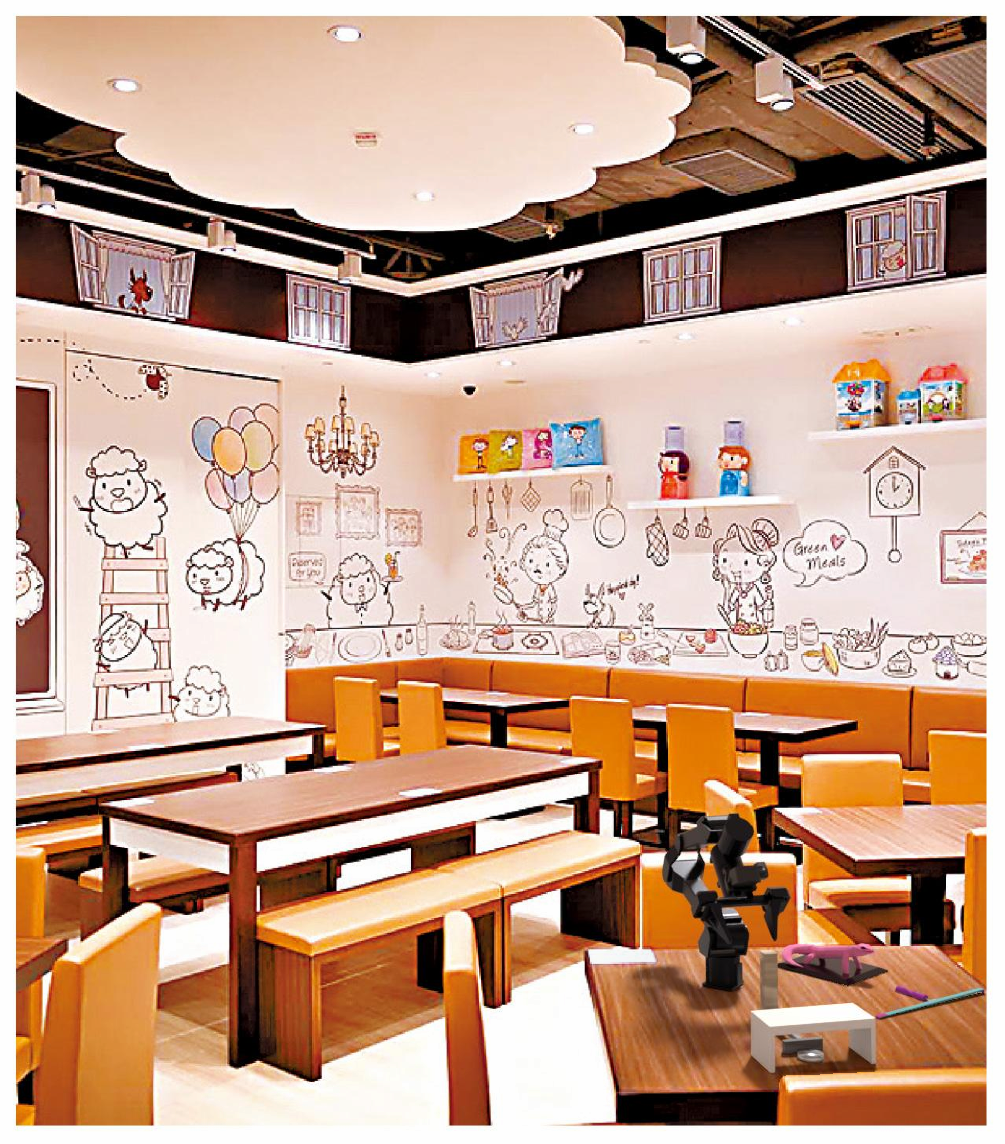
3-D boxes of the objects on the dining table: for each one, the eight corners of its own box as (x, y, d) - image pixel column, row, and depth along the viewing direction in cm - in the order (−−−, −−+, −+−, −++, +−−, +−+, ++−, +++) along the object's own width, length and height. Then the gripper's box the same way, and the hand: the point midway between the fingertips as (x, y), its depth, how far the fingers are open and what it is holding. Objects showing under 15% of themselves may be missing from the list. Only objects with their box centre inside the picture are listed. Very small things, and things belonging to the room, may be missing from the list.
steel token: (793, 1060, 205) (793, 1054, 205) (802, 1052, 209) (802, 1047, 209) (818, 1066, 203) (818, 1060, 203) (827, 1057, 206) (827, 1052, 206)
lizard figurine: (854, 991, 242) (853, 954, 243) (772, 968, 258) (771, 934, 258) (894, 976, 252) (893, 940, 252) (813, 955, 267) (812, 921, 267)
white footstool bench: (751, 1055, 207) (750, 1010, 207) (853, 1046, 210) (852, 1003, 211) (770, 1072, 199) (769, 1026, 199) (876, 1063, 203) (875, 1018, 203)
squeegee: (943, 974, 247) (984, 987, 238) (943, 982, 247) (984, 996, 238) (840, 1000, 233) (879, 1015, 224) (840, 1009, 233) (880, 1024, 224)
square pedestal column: (747, 1021, 224) (746, 950, 224) (782, 1018, 225) (781, 947, 225) (784, 1053, 207) (783, 977, 208) (823, 1050, 209) (821, 974, 209)
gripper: (695, 849, 234) (716, 921, 223) (785, 845, 237) (811, 916, 226) (681, 881, 241) (702, 953, 230) (770, 876, 245) (794, 947, 234)
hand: (752, 941), depth 230 cm, fingers open, 9 cm apart
